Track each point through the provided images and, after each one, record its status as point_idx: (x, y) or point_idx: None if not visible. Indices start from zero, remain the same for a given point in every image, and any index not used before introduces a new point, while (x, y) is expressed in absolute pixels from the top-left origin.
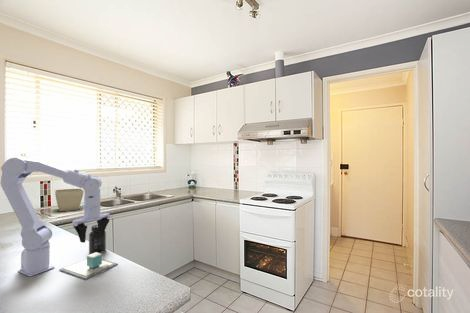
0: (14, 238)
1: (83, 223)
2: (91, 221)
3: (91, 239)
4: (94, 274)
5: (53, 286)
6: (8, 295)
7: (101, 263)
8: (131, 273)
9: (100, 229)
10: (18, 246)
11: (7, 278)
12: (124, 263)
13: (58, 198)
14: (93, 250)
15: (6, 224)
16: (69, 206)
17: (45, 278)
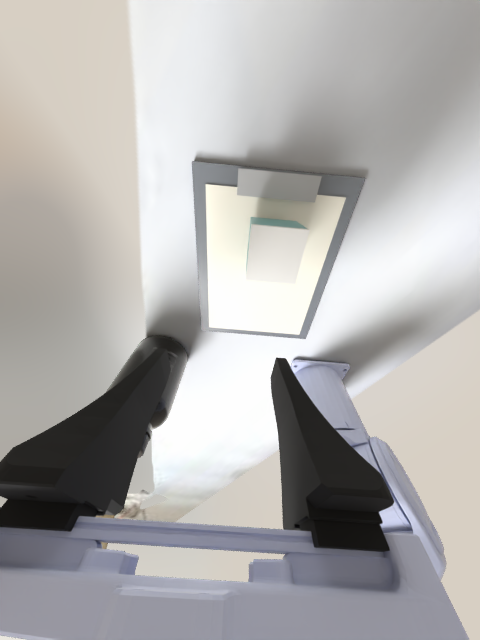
0: (217, 482)
1: (324, 542)
2: (212, 531)
3: (171, 393)
4: (320, 174)
5: (411, 257)
6: (450, 323)
7: (251, 217)
8: None
9: (147, 402)
10: (236, 464)
11: (356, 391)
12: (162, 133)
13: (104, 545)
14: (180, 354)
15: (192, 508)
16: (96, 516)
17: (353, 327)
